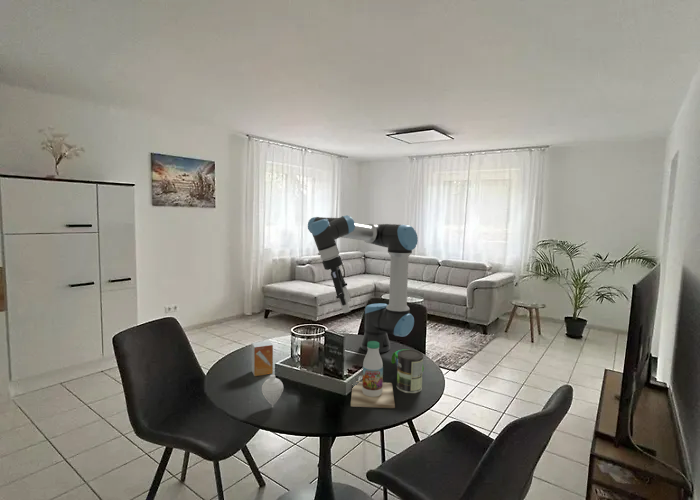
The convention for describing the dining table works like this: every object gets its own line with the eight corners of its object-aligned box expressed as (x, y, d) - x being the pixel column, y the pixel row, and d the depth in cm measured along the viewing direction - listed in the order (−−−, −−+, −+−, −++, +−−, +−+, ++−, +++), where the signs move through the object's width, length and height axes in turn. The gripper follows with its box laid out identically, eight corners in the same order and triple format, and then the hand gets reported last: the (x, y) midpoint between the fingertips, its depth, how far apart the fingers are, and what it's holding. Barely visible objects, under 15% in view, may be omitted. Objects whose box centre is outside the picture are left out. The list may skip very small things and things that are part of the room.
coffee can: (397, 393, 151) (398, 358, 149) (395, 381, 161) (396, 348, 160) (423, 394, 150) (425, 359, 149) (420, 382, 160) (421, 349, 159)
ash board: (352, 384, 158) (352, 381, 158) (391, 385, 157) (391, 382, 157) (350, 406, 140) (350, 403, 140) (394, 408, 139) (394, 405, 139)
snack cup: (385, 373, 169) (385, 350, 168) (401, 367, 176) (402, 345, 175) (412, 385, 157) (412, 361, 156) (428, 379, 164) (429, 356, 163)
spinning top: (278, 400, 143) (278, 369, 142) (286, 409, 137) (286, 377, 136) (258, 405, 139) (258, 373, 138) (266, 415, 133) (266, 381, 132)
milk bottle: (360, 389, 151) (361, 339, 149) (379, 387, 152) (380, 338, 150) (364, 398, 143) (365, 346, 141) (384, 396, 145) (386, 345, 143)
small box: (254, 376, 163) (254, 347, 162) (251, 371, 169) (251, 342, 167) (273, 373, 166) (273, 344, 165) (269, 368, 172) (269, 340, 171)
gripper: (324, 255, 165) (339, 300, 168) (318, 267, 140) (337, 319, 143) (340, 249, 164) (356, 295, 167) (338, 260, 140) (356, 313, 143)
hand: (347, 306), depth 155 cm, fingers open, 13 cm apart
